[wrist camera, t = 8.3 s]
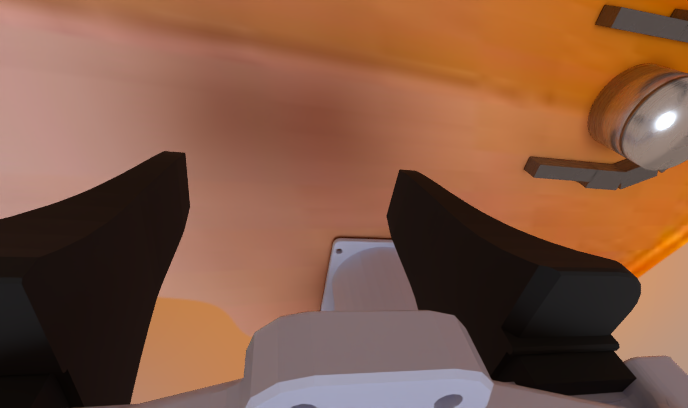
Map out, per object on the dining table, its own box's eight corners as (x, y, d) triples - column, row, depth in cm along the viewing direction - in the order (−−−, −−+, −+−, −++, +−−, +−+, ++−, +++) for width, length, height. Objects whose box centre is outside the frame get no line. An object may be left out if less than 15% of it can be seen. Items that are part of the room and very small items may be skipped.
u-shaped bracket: (649, 185, 28) (662, 193, 27) (521, 175, 26) (530, 183, 25) (764, 28, 22) (786, 31, 21) (610, -6, 20) (627, -4, 19)
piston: (635, 146, 26) (686, 173, 23) (572, 140, 25) (616, 167, 22) (686, 69, 23) (753, 87, 20) (617, 57, 22) (675, 75, 19)
